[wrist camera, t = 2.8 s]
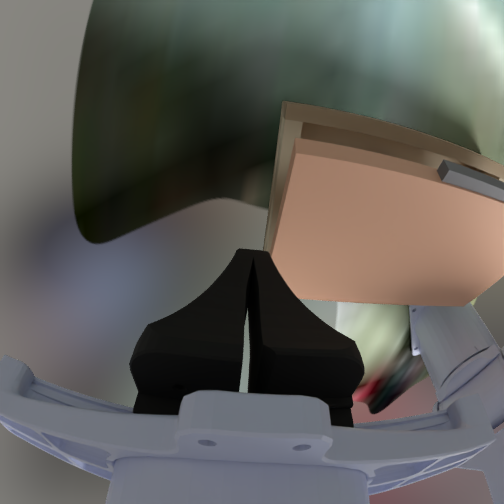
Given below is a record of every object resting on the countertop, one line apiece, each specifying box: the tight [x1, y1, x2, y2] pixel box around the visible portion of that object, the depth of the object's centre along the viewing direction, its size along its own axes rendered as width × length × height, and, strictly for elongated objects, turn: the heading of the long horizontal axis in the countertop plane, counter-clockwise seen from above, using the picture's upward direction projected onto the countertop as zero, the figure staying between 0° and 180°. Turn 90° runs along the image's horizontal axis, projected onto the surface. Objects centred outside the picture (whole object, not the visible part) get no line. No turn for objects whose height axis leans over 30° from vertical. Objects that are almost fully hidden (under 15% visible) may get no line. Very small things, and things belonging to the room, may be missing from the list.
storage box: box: [263, 101, 504, 253], centre depth 20 cm, size 12×18×4 cm, turn 84°
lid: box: [270, 138, 504, 307], centre depth 15 cm, size 13×18×1 cm
